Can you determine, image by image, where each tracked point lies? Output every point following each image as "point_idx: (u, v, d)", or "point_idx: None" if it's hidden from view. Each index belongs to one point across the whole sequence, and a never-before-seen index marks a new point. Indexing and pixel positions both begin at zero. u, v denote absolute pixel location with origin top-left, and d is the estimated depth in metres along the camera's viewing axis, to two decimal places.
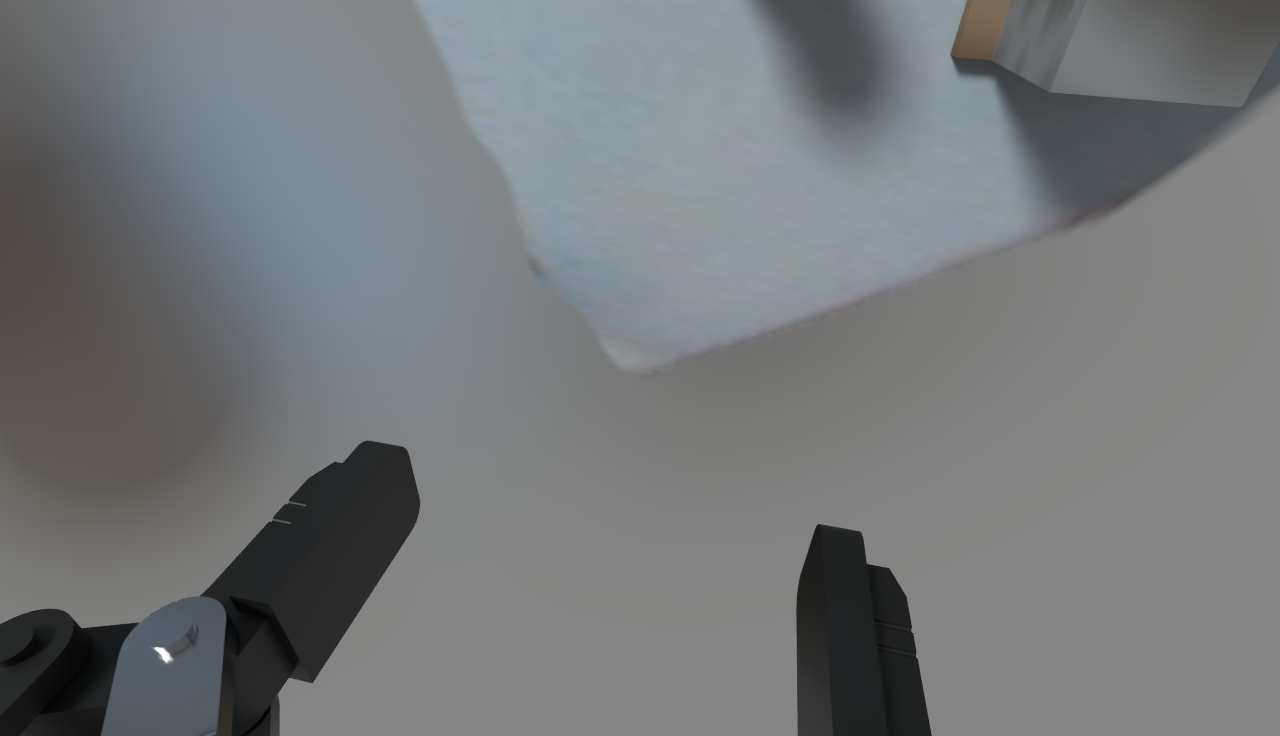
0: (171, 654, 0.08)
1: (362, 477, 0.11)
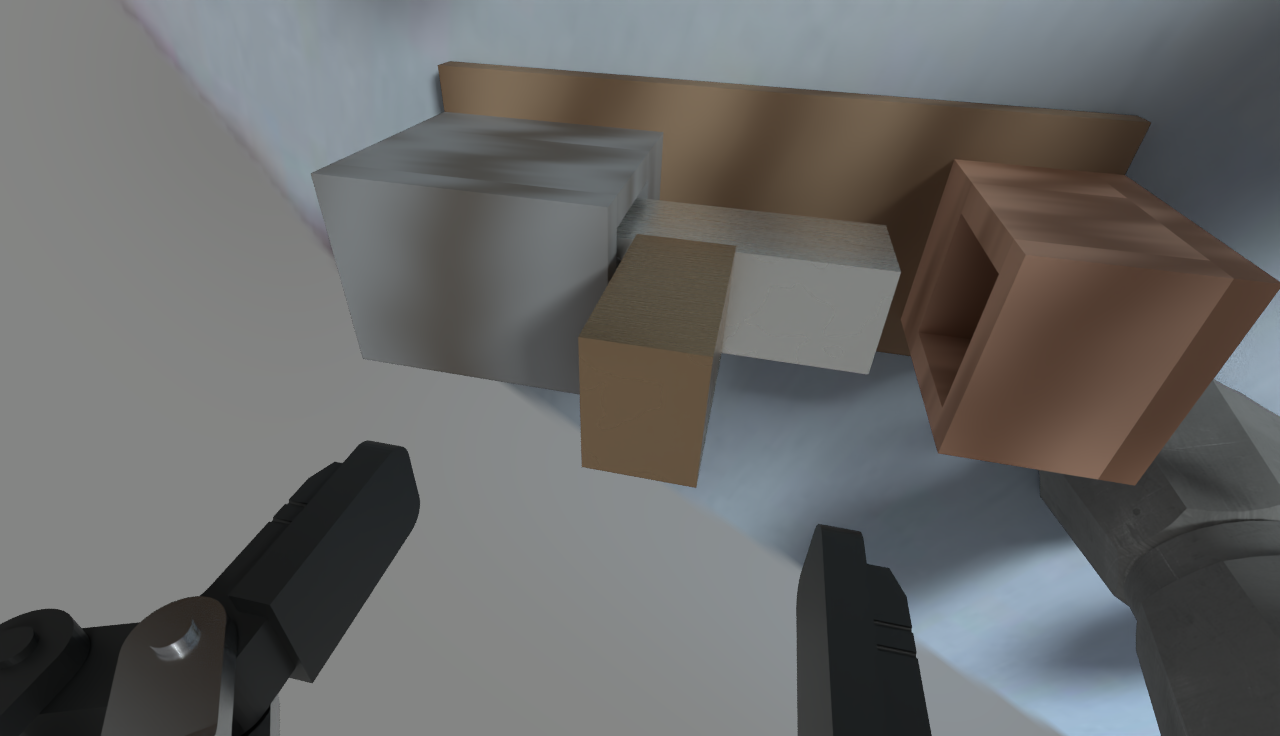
0: (171, 654, 0.08)
1: (362, 477, 0.11)
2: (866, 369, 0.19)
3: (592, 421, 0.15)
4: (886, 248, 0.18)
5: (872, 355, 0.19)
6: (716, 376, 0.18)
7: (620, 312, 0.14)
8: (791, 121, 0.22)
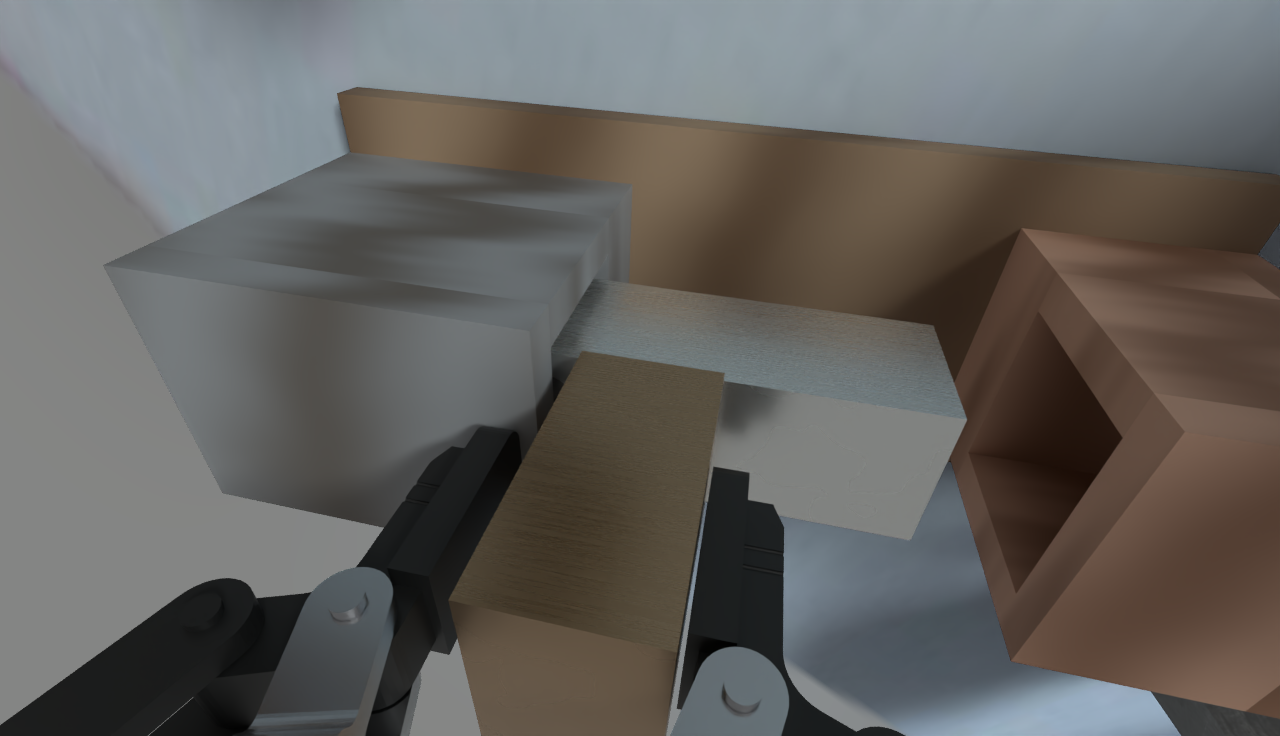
0: (351, 620, 0.08)
1: (487, 460, 0.11)
2: (908, 534, 0.14)
3: (489, 696, 0.09)
4: (939, 370, 0.13)
5: (917, 516, 0.13)
6: None
7: (531, 530, 0.09)
8: (802, 174, 0.16)
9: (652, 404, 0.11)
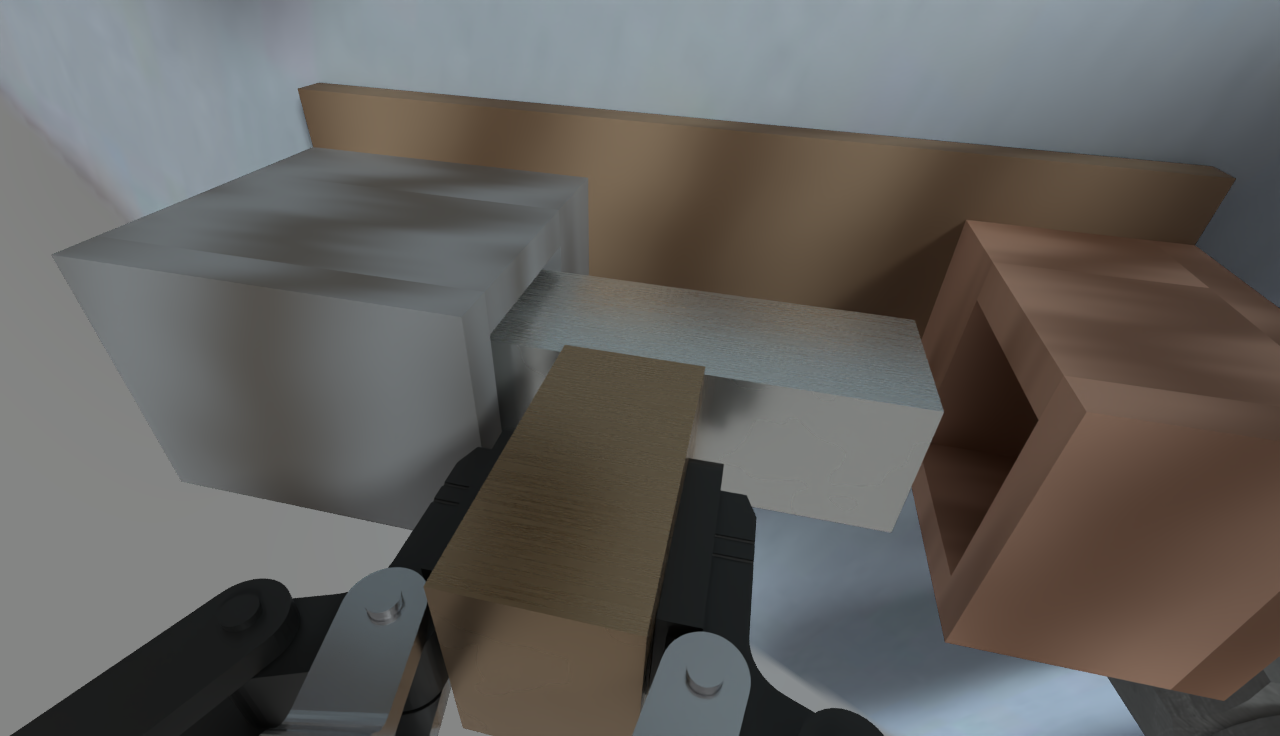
0: (388, 621, 0.08)
1: None
2: (888, 526, 0.14)
3: (467, 683, 0.09)
4: (918, 364, 0.13)
5: (898, 509, 0.14)
6: None
7: (507, 519, 0.09)
8: (752, 167, 0.16)
9: (632, 397, 0.11)
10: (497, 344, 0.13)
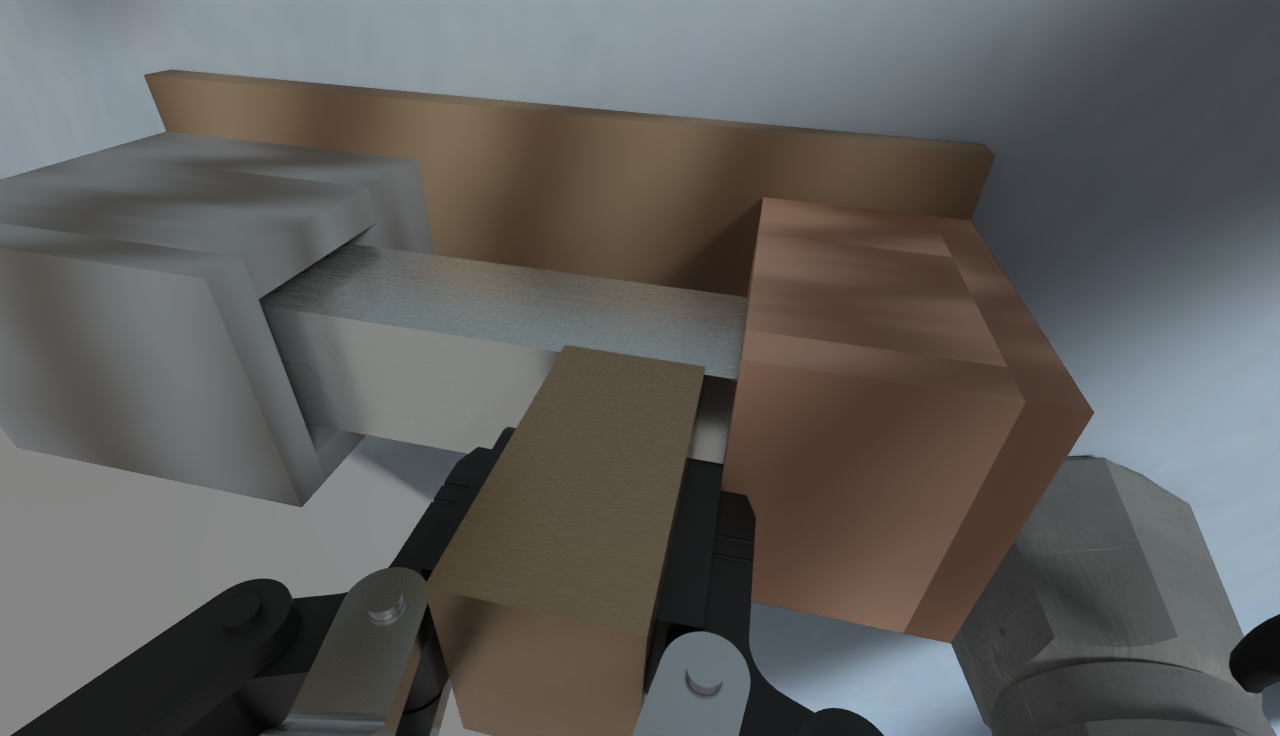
0: (388, 620, 0.08)
1: None
2: None
3: (468, 683, 0.09)
4: None
5: None
6: None
7: (507, 519, 0.09)
8: (564, 148, 0.17)
9: (632, 397, 0.11)
10: (498, 344, 0.13)
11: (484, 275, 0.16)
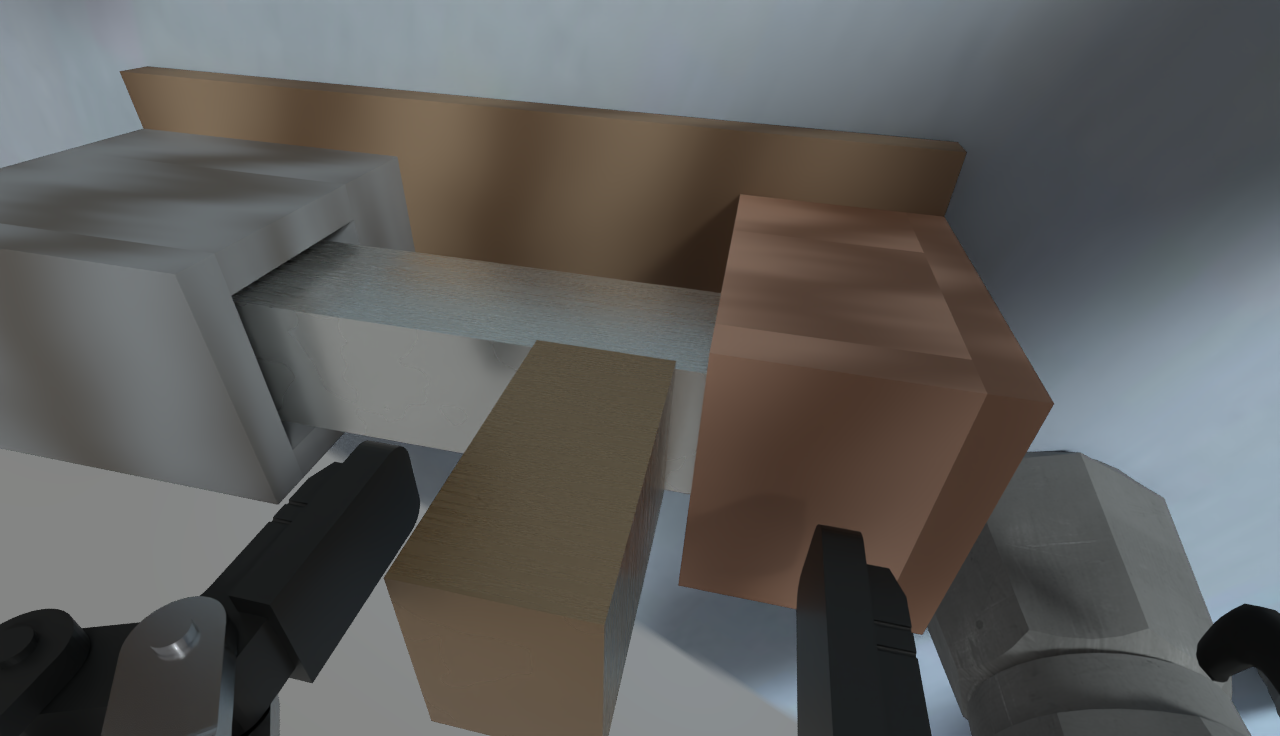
0: (171, 654, 0.08)
1: (362, 477, 0.11)
2: None
3: (433, 675, 0.09)
4: None
5: None
6: (650, 539, 0.13)
7: (471, 511, 0.09)
8: (542, 145, 0.17)
9: (601, 391, 0.11)
10: (470, 340, 0.13)
11: (460, 271, 0.16)
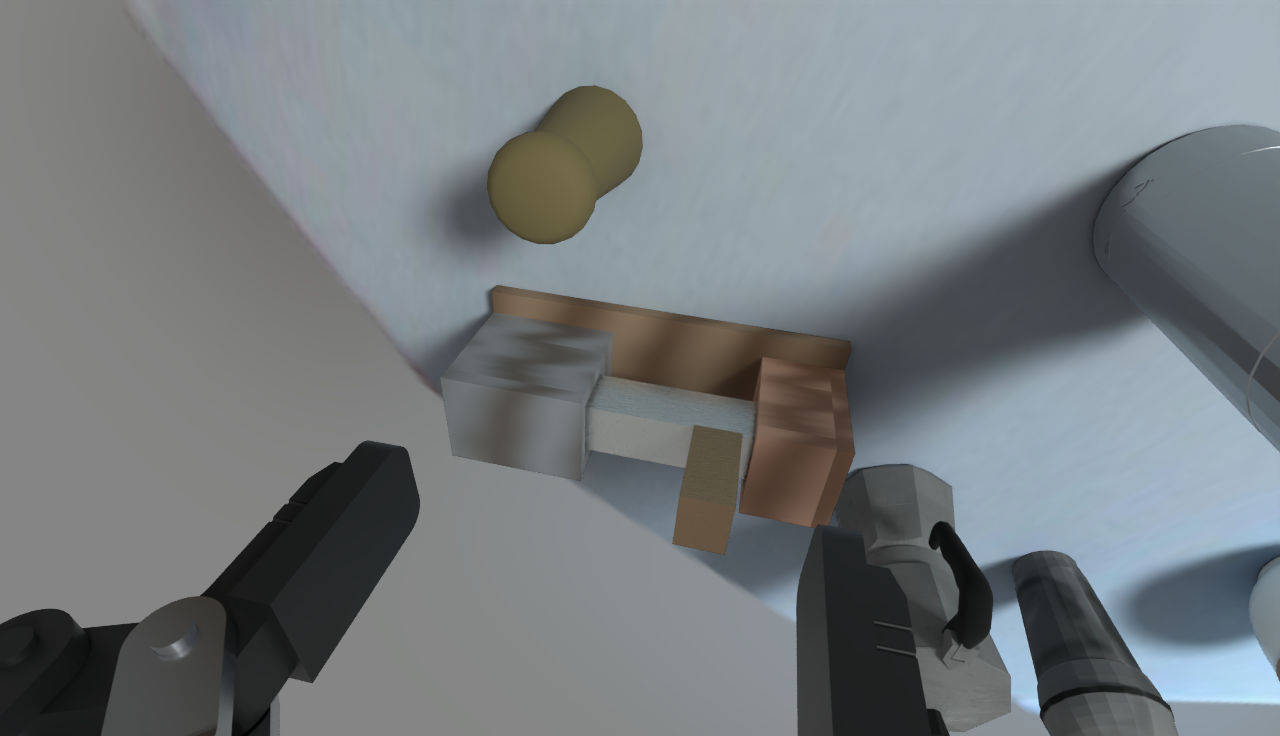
0: (171, 654, 0.08)
1: (362, 477, 0.11)
2: None
3: (680, 526, 0.33)
4: None
5: None
6: None
7: (694, 480, 0.33)
8: (680, 333, 0.41)
9: (720, 444, 0.36)
10: (669, 423, 0.37)
11: (652, 391, 0.40)
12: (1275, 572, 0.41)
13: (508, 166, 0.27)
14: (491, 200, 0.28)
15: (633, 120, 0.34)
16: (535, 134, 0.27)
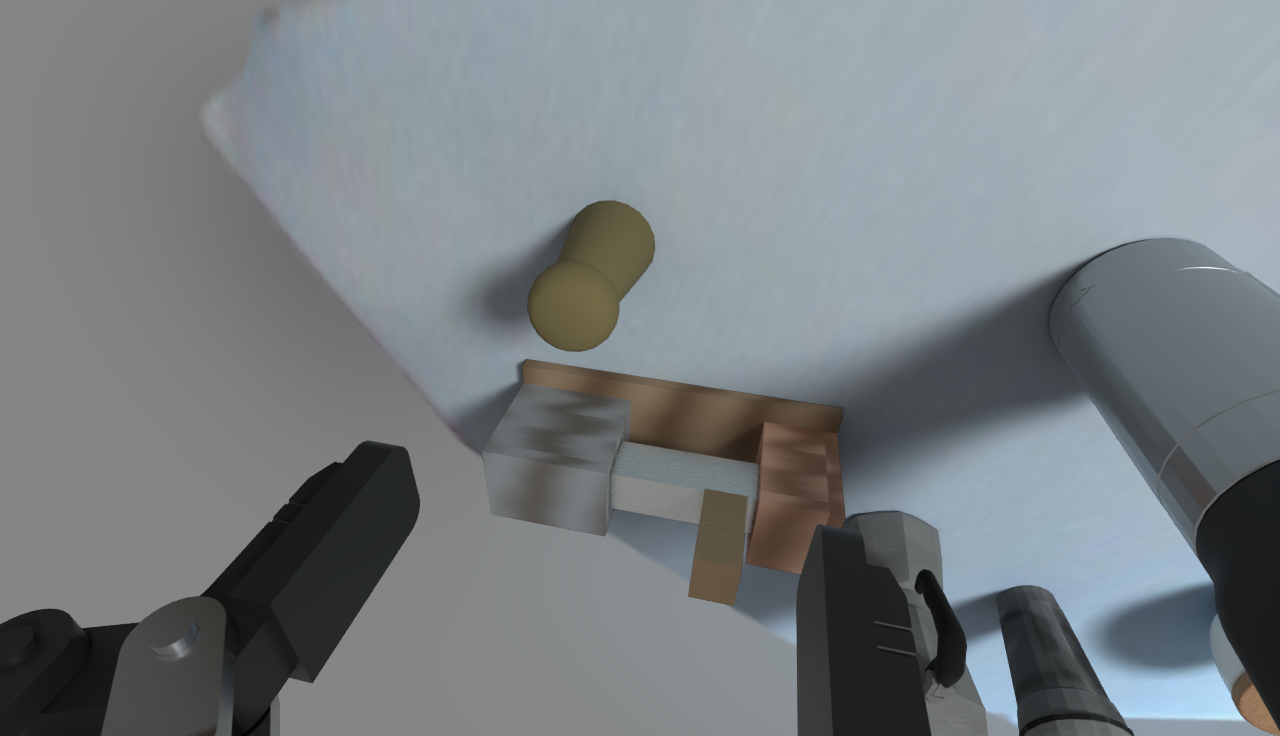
0: (171, 655, 0.08)
1: (362, 477, 0.11)
2: None
3: (695, 582, 0.39)
4: None
5: None
6: None
7: (706, 543, 0.38)
8: (690, 401, 0.47)
9: (728, 507, 0.41)
10: (682, 487, 0.42)
11: (667, 455, 0.45)
12: None
13: (546, 295, 0.32)
14: (531, 319, 0.33)
15: (647, 229, 0.40)
16: (568, 267, 0.32)
